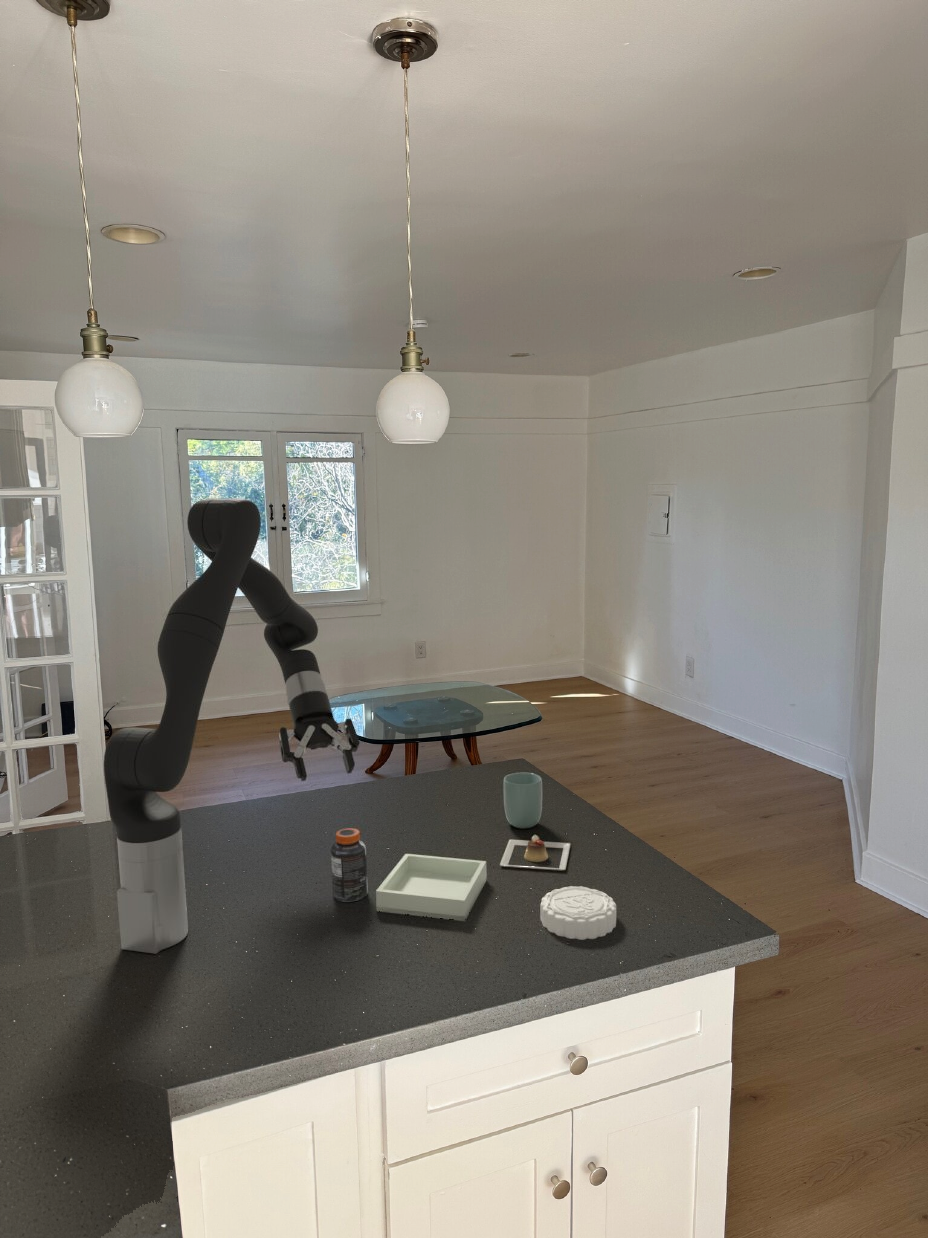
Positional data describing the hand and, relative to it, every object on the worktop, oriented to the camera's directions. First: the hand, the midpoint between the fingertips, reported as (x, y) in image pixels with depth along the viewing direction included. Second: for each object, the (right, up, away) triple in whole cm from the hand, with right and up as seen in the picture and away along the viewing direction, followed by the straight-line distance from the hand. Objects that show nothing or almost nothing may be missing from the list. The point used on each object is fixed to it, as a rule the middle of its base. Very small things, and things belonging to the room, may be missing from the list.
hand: (327, 775), depth 150 cm
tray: (+20, -19, -9) cm, 29 cm away
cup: (+37, -15, +21) cm, 45 cm away
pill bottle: (+5, -19, -8) cm, 22 cm away
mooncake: (+43, -20, -18) cm, 51 cm away
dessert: (+38, -17, +6) cm, 42 cm away
